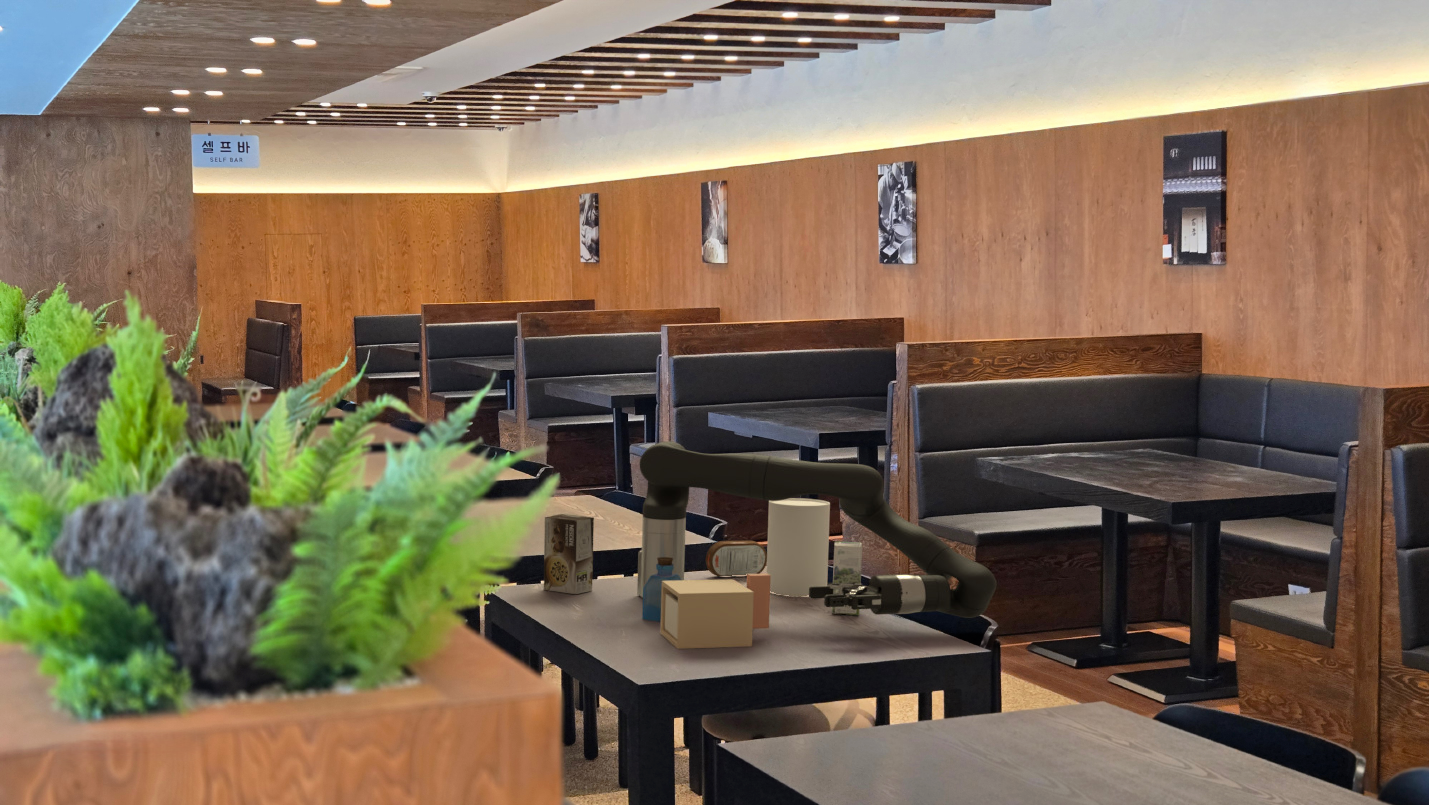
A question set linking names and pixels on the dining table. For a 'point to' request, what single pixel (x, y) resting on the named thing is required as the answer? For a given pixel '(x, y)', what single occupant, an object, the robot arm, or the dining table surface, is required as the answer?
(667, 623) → the tray
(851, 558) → the syrup box
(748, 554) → the tin
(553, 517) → the coffee box
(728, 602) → the mailer sleeve
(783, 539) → the canister
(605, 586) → the dining table surface
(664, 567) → the perfume bottle
